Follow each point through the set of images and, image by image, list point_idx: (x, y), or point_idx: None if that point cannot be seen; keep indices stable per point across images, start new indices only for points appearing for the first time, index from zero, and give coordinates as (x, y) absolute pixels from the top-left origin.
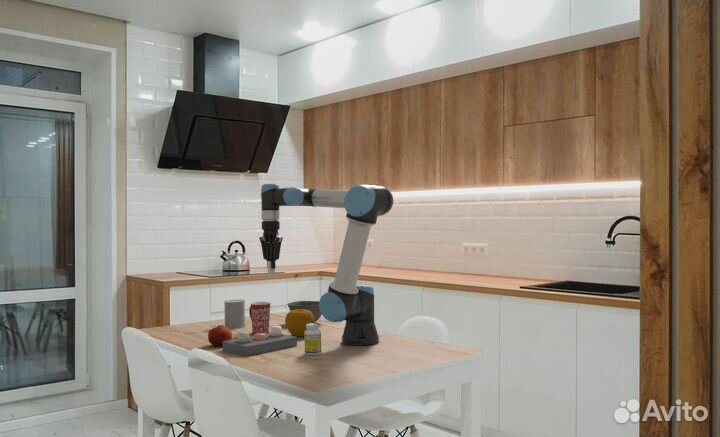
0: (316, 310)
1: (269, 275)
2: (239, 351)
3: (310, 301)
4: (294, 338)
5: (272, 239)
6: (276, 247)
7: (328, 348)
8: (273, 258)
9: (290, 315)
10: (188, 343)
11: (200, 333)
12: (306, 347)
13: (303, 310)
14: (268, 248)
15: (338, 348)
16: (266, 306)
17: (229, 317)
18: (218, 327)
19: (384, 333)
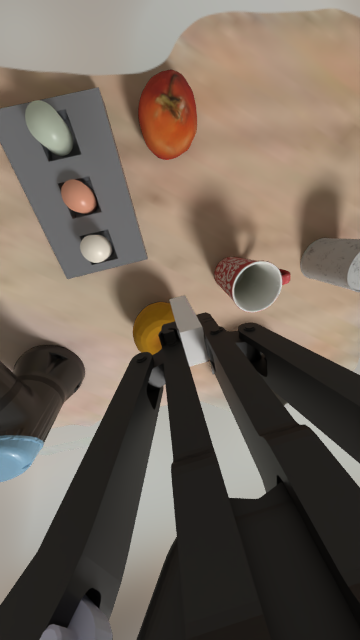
0: None
1: (174, 300)
2: None
3: (283, 404)
4: (65, 272)
5: (165, 618)
6: (87, 458)
7: (21, 310)
8: (139, 355)
9: (154, 314)
10: (239, 62)
11: (321, 160)
12: None
13: None
14: (238, 403)
15: (14, 323)
16: (231, 292)
17: (332, 243)
18: (162, 93)
19: (102, 416)
